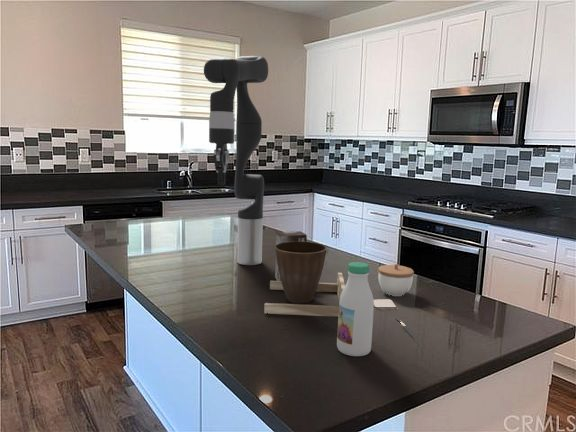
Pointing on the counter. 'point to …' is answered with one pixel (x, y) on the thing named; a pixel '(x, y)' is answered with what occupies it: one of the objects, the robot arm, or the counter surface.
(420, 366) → the counter surface
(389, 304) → the spatula
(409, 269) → the lidded jar
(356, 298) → the milk bottle
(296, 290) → the plant pot
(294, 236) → the coffee box
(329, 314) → the wooden frame
